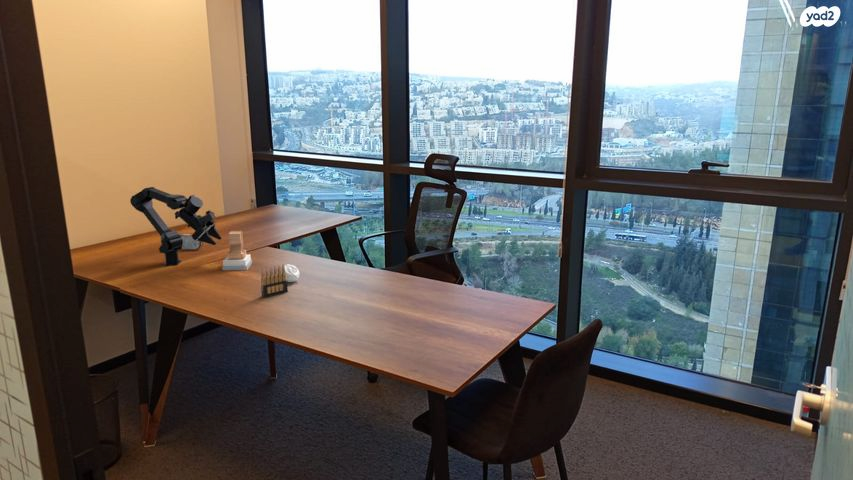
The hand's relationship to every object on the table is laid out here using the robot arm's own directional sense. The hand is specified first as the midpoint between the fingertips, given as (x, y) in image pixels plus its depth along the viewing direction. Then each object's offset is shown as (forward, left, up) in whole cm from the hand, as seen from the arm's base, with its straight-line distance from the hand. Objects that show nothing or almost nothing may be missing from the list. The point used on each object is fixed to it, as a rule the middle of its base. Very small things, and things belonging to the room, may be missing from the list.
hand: (218, 241), depth 268 cm
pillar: (0, -8, -8) cm, 11 cm away
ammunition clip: (-39, -32, -12) cm, 52 cm away
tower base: (0, -8, -13) cm, 15 cm away
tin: (+30, +24, -12) cm, 41 cm away
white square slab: (0, -8, -10) cm, 13 cm away
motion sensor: (-24, -36, -12) cm, 45 cm away
